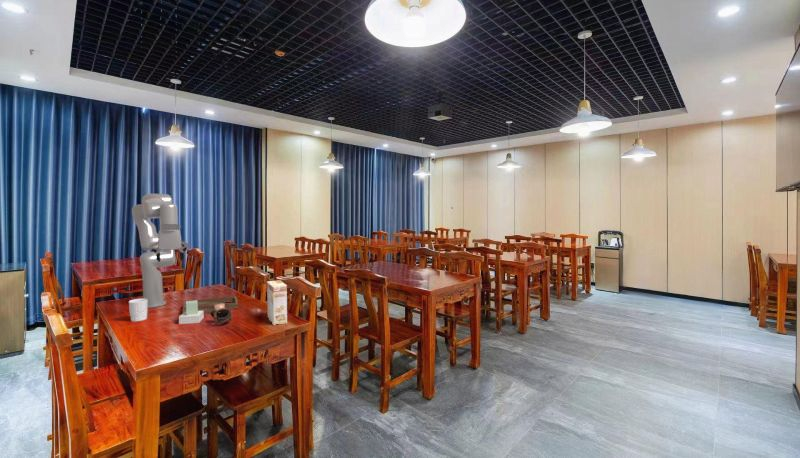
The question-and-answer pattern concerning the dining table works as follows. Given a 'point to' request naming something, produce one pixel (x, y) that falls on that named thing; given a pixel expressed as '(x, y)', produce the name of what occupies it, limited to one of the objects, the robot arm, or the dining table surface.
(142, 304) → the white cup
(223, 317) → the pottery mug
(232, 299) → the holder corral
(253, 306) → the dining table surface
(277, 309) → the coffeecake box
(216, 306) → the glossy beige egg
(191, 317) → the base slab
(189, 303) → the green block
